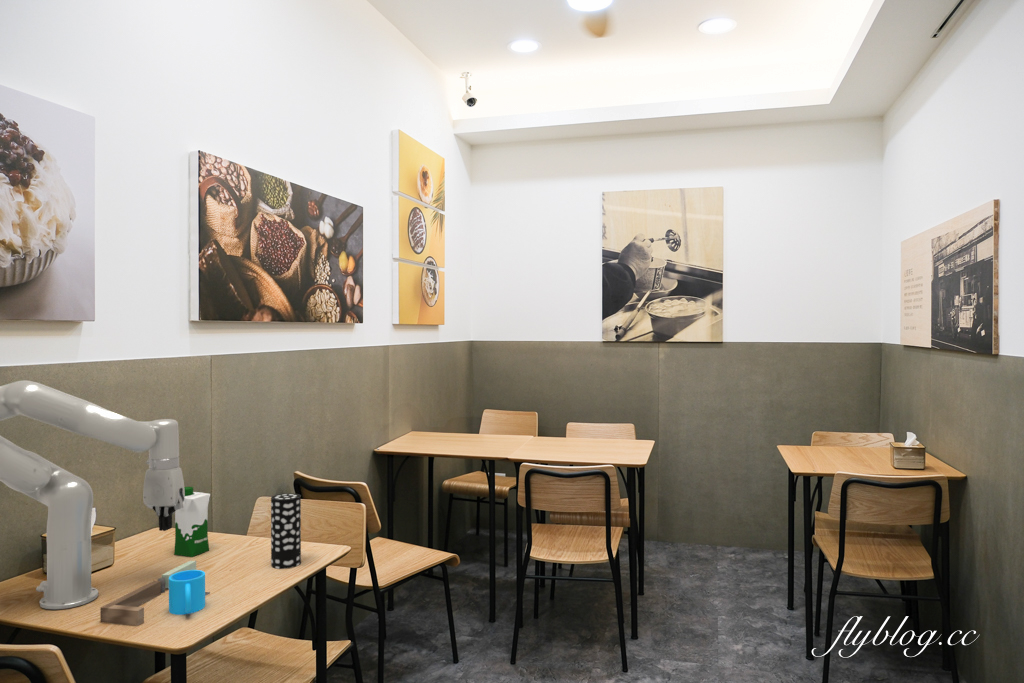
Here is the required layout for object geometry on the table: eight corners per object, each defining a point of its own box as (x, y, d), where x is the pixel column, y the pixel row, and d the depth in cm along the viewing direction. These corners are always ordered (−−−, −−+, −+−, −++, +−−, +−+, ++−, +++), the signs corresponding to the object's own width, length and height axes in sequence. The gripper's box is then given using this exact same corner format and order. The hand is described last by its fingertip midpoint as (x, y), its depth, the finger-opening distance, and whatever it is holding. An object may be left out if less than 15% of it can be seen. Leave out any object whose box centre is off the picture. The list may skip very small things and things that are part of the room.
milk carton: (191, 547, 218) (191, 484, 218) (214, 550, 215) (213, 486, 215) (169, 555, 210) (169, 490, 210) (192, 558, 207) (192, 492, 207)
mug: (168, 605, 172) (168, 572, 172) (204, 599, 175) (204, 567, 175) (169, 623, 161) (168, 588, 161) (206, 616, 165) (206, 583, 165)
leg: (168, 588, 182) (168, 575, 181) (161, 587, 182) (161, 574, 182) (196, 573, 193) (196, 561, 193) (189, 572, 193) (189, 560, 193)
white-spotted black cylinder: (265, 567, 200) (265, 498, 199) (282, 558, 208) (282, 492, 207) (289, 570, 197) (289, 500, 197) (306, 561, 205) (306, 494, 205)
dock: (100, 622, 161) (100, 607, 161) (162, 589, 182) (162, 576, 182) (152, 627, 159) (152, 612, 159) (209, 593, 180) (209, 579, 180)
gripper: (130, 466, 188) (132, 532, 189) (179, 467, 185) (180, 534, 186) (150, 460, 196) (151, 524, 196) (196, 462, 193) (198, 526, 193)
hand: (165, 529), depth 191 cm, fingers closed
